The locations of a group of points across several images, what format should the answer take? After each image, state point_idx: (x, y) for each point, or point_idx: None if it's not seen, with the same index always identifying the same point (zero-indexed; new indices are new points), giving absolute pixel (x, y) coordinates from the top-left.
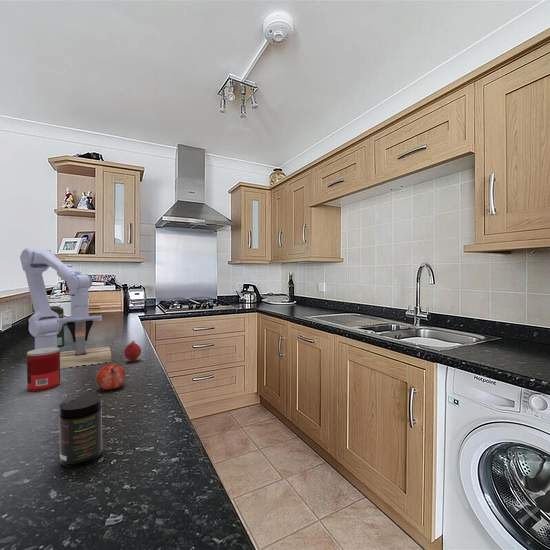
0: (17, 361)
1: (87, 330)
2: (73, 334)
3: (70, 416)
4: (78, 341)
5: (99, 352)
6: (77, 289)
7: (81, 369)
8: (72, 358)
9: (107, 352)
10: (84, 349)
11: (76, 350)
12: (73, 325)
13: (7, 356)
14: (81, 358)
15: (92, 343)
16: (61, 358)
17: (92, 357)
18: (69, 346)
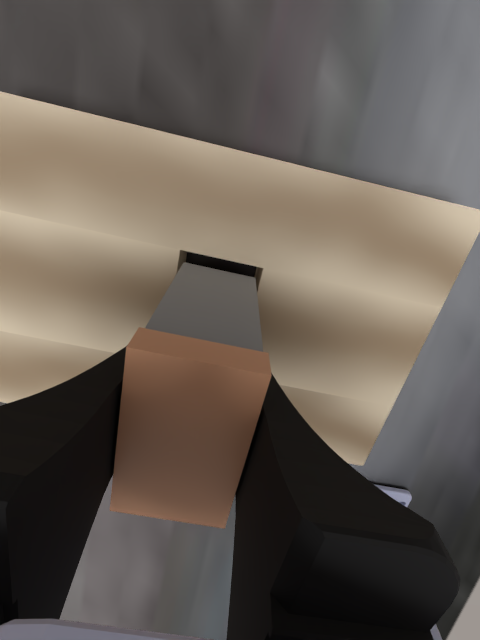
0: (456, 524)
1: (69, 401)
2: (283, 414)
3: None
4: (230, 318)
5: (71, 248)
6: None
7: (260, 31)
8: (299, 192)
9: (4, 193)
10: (183, 274)
11: (250, 286)
12: (329, 521)
13: (447, 618)
14: (235, 151)
15: (97, 620)
16: (362, 265)
17: (145, 129)
18: (200, 627)
